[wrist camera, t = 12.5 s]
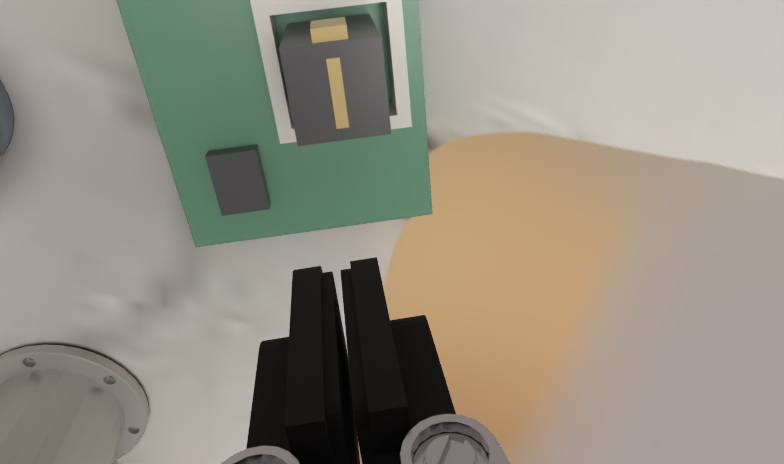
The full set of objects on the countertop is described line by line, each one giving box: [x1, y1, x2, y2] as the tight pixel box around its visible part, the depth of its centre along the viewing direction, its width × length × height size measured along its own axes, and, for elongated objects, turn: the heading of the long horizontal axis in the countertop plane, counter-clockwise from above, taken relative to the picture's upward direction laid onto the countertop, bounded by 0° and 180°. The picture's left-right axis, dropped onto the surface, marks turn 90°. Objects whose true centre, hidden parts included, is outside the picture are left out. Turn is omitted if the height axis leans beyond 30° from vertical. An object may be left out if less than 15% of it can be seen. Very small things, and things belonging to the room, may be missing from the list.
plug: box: [279, 14, 391, 146], centre depth 28 cm, size 5×4×7 cm
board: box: [116, 0, 432, 247], centre depth 31 cm, size 22×16×4 cm
